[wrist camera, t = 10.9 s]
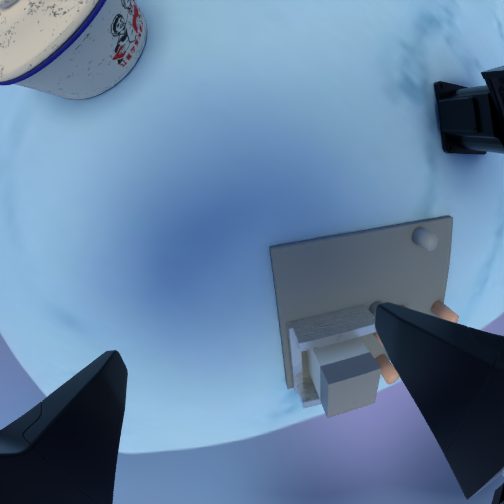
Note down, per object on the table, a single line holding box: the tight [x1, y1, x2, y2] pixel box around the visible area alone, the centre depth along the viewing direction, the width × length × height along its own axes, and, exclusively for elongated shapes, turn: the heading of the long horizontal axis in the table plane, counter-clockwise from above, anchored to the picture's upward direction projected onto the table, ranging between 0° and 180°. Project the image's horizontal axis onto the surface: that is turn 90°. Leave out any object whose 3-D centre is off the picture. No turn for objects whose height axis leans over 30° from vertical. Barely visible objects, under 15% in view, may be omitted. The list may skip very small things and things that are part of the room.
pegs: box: [369, 227, 459, 384], centre depth 22 cm, size 9×14×3 cm, turn 9°
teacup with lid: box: [0, 0, 147, 100], centre depth 8 cm, size 12×9×12 cm
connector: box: [307, 337, 381, 418], centre depth 21 cm, size 4×4×6 cm
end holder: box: [286, 304, 376, 408], centre depth 22 cm, size 7×8×3 cm
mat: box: [270, 216, 453, 389], centre depth 23 cm, size 17×14×1 cm
